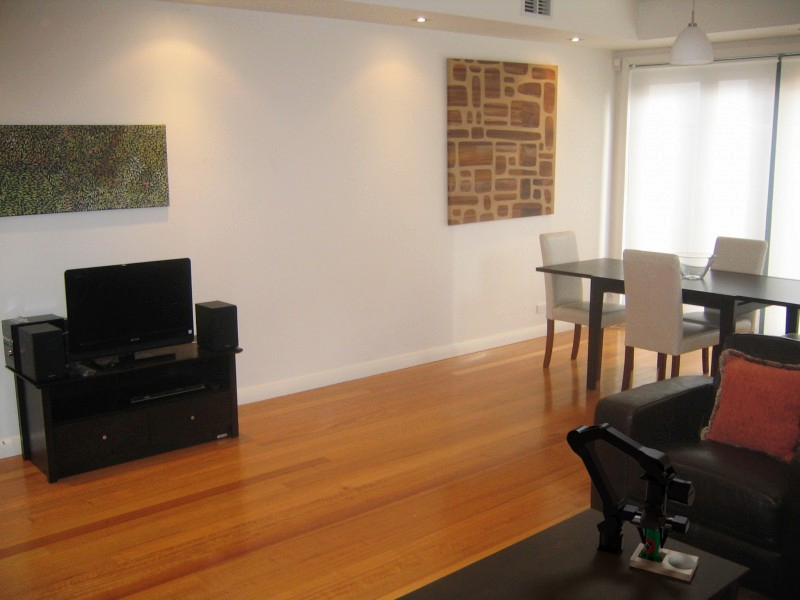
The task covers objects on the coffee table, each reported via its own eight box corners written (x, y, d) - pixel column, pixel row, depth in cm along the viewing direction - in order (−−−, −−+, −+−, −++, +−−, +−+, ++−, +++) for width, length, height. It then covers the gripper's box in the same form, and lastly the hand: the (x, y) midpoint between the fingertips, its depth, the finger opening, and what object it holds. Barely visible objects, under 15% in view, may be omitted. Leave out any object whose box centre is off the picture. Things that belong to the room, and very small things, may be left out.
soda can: (661, 566, 236) (664, 528, 234) (643, 564, 237) (646, 526, 235) (659, 558, 241) (662, 520, 239) (642, 556, 242) (644, 519, 240)
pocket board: (629, 565, 237) (629, 558, 236) (639, 548, 247) (640, 541, 247) (690, 581, 228) (691, 574, 228) (699, 563, 238) (699, 556, 238)
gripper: (616, 499, 233) (613, 549, 236) (683, 513, 224) (679, 565, 227) (626, 485, 243) (624, 533, 246) (691, 499, 234) (687, 549, 236)
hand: (652, 545), depth 238 cm, fingers closed on soda can, 5 cm apart
